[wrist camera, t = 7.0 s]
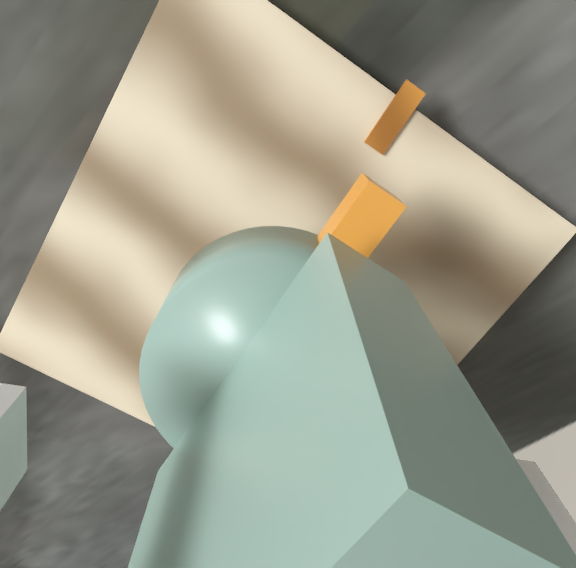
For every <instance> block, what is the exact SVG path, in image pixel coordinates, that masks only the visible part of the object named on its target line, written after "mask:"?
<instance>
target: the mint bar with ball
mask: <svg viewBox="0 0 576 568" xmlns="http://www.w3.org/2000/svg"><path fill="white" fill-rule="evenodd" d="M406 207H407V206H406V205H405V204H404V203H403V202H402V201H401V200H400V199H399V198H398V197H397V196H395V195H394V194H392V193H391V192H389V191H388V190H387V189H385V188H384V187H382V186H381V185H379V184H378V183H376V182H375V181H373V180H372V179H371V178H369V177H368V176H366V175H365V174H363V173H361V175H360V176H359V178H358V179H357V180H356V182H355V183H354V185H353V186H352V188H351V189H350V190H349V192H348V193H347V195H346V196H345V198H344V199H343V200H342V202H341V203H340V205H339V206H338V207H337V209H336V210H335V212H334V213H333V215H332V216H331V217H330V219H329V220H328V222H327V223H326V225H325V226H324V227H323V229H322V230H321V232H320V233H319V234H318V235H316V234H314V233H311V232H309V231H305V230H301V229H297V228H292V227H283V226H260V227H253V228H247V229H243V230H239V231H236V232H233V233H230V234H228V235H225V236H223V237H221V238H219V239H217V240H215V241H213V242H212V243H210V244H208V245H207V246H205V247H204V248H203V249H202V250H200V251H199V252H198V253H197V254H195V255H194V256H193V257H192V258H191V259H190V261H189V262H188V263H187V264H186V265H185V266H184V268H183V269H182V270H181V272H180V273H179V275H178V276H177V278H176V280H175V282H174V284H173V286H172V288H171V289H170V291H169V293H168V295H167V297H166V299H165V301H164V303H163V305H162V307H161V309H160V310H159V312H158V314H157V316H156V318H155V320H154V322H153V324H152V326H151V328H150V330H149V332H148V334H147V336H146V339H145V342H144V345H143V348H142V352H141V358H140V364H139V381H140V388H141V394H142V397H143V401H144V404H145V407H146V410H147V412H148V414H149V416H150V418H151V420H152V422H153V423H154V425H155V426H156V428H157V429H158V431H159V432H160V434H161V435H162V436H163V437H164V438H165V440H166V441H167V442H168V443H169V444H170V445H171V446H172V447H173V448H174V449H173V451H172V452H171V454H170V455H169V456H168V458H167V459H166V461H165V462H164V463H163V465H162V466H161V468H160V469H159V471H158V473H157V476H156V479H155V482H154V486H153V489H152V492H151V495H150V499H149V502H148V505H147V508H146V511H145V515H144V518H143V521H142V524H141V527H140V531H139V534H138V537H137V540H136V543H135V547H134V550H133V553H132V556H131V559H130V563H129V566H128V568H576V555H575V553H574V551H573V550H572V548H571V547H570V545H569V543H568V542H567V540H566V539H565V537H564V535H563V534H562V532H561V531H560V529H559V527H558V526H557V524H556V523H555V521H554V519H553V518H552V516H551V515H550V513H549V511H548V510H547V508H546V507H545V505H544V503H543V502H542V500H541V499H540V497H539V495H538V494H537V492H536V491H535V489H534V487H533V486H532V484H531V483H530V481H529V479H528V478H527V476H526V475H525V473H524V471H523V470H522V468H521V467H520V465H519V463H518V462H517V460H516V459H515V457H514V455H513V454H512V452H511V451H510V449H509V447H508V446H507V444H506V443H505V441H504V439H503V438H502V436H501V435H500V433H499V431H498V430H497V428H496V427H495V425H494V423H493V422H492V420H491V419H490V417H489V415H488V414H487V412H486V411H485V409H484V407H483V406H482V404H481V403H480V401H479V399H478V398H477V396H476V395H475V393H474V391H473V390H472V388H471V387H470V385H469V383H468V382H467V380H466V379H465V377H464V375H463V374H462V372H461V370H460V369H459V367H458V366H457V364H456V362H455V361H454V359H453V358H452V356H451V354H450V353H449V351H448V350H447V348H446V346H445V345H444V343H443V342H442V340H441V338H440V337H439V335H438V334H437V332H436V330H435V329H434V327H433V326H432V324H431V322H430V321H429V319H428V318H427V316H426V314H425V313H424V311H423V310H422V308H421V306H420V305H419V303H418V302H417V300H416V298H415V297H414V295H413V294H412V292H411V290H410V289H409V287H408V286H407V284H406V282H404V281H403V280H401V279H400V278H398V277H396V276H395V275H393V274H392V273H390V272H389V271H387V270H386V269H384V268H382V267H381V266H379V265H378V264H376V263H375V262H373V261H372V260H370V259H368V257H369V256H370V255H371V253H372V252H373V251H374V249H375V248H376V247H377V245H378V244H379V243H380V241H381V240H382V239H383V237H384V236H385V235H386V233H387V232H388V231H389V229H390V228H391V227H392V226H393V224H394V223H395V222H396V220H397V219H398V218H399V216H400V215H401V214H402V212H403V211H404V210H405V208H406Z"/></svg>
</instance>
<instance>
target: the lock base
mask: <svg viewBox="0 0 576 568" xmlns="http://www.w3.org/2000/svg"><path fill="white" fill-rule="evenodd" d="M424 96H425V93H424V92H423V91H421V90H420V89H419V88H417V87H416V86H415V85H413V84H412V83H411V82H409V81H408V80H405V82H404V83H403V85H402V86H401V88H400V89H399V91H398V92H397V94H396V95H395V94H394V93H393V92H391V91H390V90H389V89H387V88H386V87H385V86H383V85H382V84H380V83H379V82H378V81H376V80H375V79H374V78H372V77H371V76H370V75H368V74H367V73H366V72H364V71H363V70H361V69H360V68H359V67H357V66H356V65H355V64H353V63H352V62H351V61H349V60H348V59H346V58H345V57H344V56H342V55H341V54H340V53H338V52H337V51H336V50H334V49H333V48H332V47H330V46H329V45H327V44H326V43H325V42H323V41H322V40H321V39H319V38H318V37H317V36H315V35H314V34H312V33H311V32H310V31H308V30H307V29H306V28H304V27H303V26H302V25H300V24H299V23H298V22H296V21H295V20H293V19H292V18H291V17H289V16H288V15H287V14H285V13H284V12H283V11H281V10H280V9H278V8H277V7H276V6H274V5H273V4H272V3H270V2H269V1H268V0H159V2H158V4H157V6H156V9H155V11H154V13H153V15H152V17H151V19H150V21H149V23H148V25H147V27H146V29H145V32H144V34H143V36H142V38H141V40H140V42H139V44H138V46H137V48H136V50H135V53H134V55H133V57H132V59H131V61H130V63H129V65H128V67H127V69H126V71H125V73H124V76H123V78H122V80H121V82H120V84H119V86H118V88H117V90H116V92H115V94H114V97H113V99H112V101H111V103H110V105H109V107H108V109H107V111H106V113H105V115H104V117H103V120H102V122H101V124H100V126H99V128H98V130H97V132H96V134H95V136H94V138H93V140H92V143H91V145H90V147H89V149H88V151H87V153H86V155H85V157H84V159H83V161H82V164H81V166H80V168H79V170H78V172H77V174H76V176H75V178H74V180H73V182H72V184H71V187H70V189H69V191H68V193H67V195H66V197H65V199H64V201H63V203H62V205H61V208H60V210H59V212H58V214H57V216H56V218H55V220H54V222H53V224H52V226H51V228H50V231H49V233H48V235H47V237H46V239H45V241H44V243H43V245H42V247H41V249H40V251H39V254H38V256H37V258H36V260H35V262H34V264H33V266H32V268H31V270H30V272H29V275H28V277H27V279H26V281H25V283H24V285H23V287H22V289H21V291H20V293H19V295H18V298H17V300H16V302H15V304H14V306H13V308H12V310H11V312H10V314H9V316H8V319H7V321H6V323H5V325H4V327H3V329H2V331H1V333H0V353H3V354H5V355H7V356H9V357H11V358H13V359H15V360H17V361H19V362H21V363H23V364H25V365H28V366H30V367H32V368H34V369H36V370H38V371H40V372H42V373H44V374H46V375H48V376H51V377H53V378H55V379H57V380H59V381H61V382H63V383H65V384H67V385H69V386H71V387H74V388H76V389H78V390H80V391H82V392H84V393H86V394H88V395H90V396H92V397H94V398H96V399H99V400H101V401H103V402H105V403H107V404H109V405H111V406H113V407H115V408H117V409H119V410H122V411H124V412H126V413H128V414H130V415H132V416H134V417H136V418H138V419H140V420H142V421H144V422H147V423H149V424H151V425H153V426H155V425H154V423H153V422H152V420H151V418H150V416H149V414H148V412H147V410H146V407H145V404H144V401H143V397H142V394H141V388H140V381H139V364H140V358H141V352H142V348H143V345H144V342H145V339H146V336H147V334H148V332H149V330H150V328H151V326H152V324H153V322H154V320H155V318H156V316H157V314H158V312H159V310H160V309H161V307H162V305H163V303H164V301H165V299H166V297H167V295H168V293H169V291H170V289H171V288H172V286H173V284H174V282H175V280H176V278H177V276H178V275H179V273H180V272H181V270H182V269H183V268H184V266H185V265H186V264H187V263H188V262H189V261H190V259H191V258H192V257H193V256H194V255H195V254H197V253H198V252H199V251H200V250H202V249H203V248H204V247H205V246H207V245H208V244H210V243H212V242H213V241H215V240H217V239H219V238H221V237H223V236H225V235H228V234H230V233H233V232H236V231H239V230H243V229H247V228H253V227H260V226H283V227H292V228H297V229H301V230H305V231H309V232H311V233H314V234H316V235H318V234H319V233H320V232H321V230H322V229H323V227H324V226H325V225H326V223H327V222H328V220H329V219H330V217H331V216H332V215H333V213H334V212H335V210H336V209H337V207H338V206H339V205H340V203H341V202H342V200H343V199H344V198H345V196H346V195H347V193H348V192H349V190H350V189H351V188H352V186H353V185H354V183H355V182H356V180H357V179H358V178H359V176H360V175H361V173H363V174H365V175H366V176H368V177H369V178H371V179H372V180H373V181H375V182H376V183H378V184H379V185H381V186H382V187H384V188H385V189H387V190H388V191H389V192H391V193H392V194H394V195H395V196H397V197H398V198H399V199H400V200H401V201H402V202H403V203H404V204H405V205H406V206H407V207H406V208H405V210H404V211H403V212H402V214H401V215H400V216H399V218H398V219H397V220H396V222H395V223H394V224H393V226H392V227H391V228H390V229H389V231H388V232H387V233H386V235H385V236H384V237H383V239H382V240H381V241H380V243H379V244H378V245H377V247H376V248H375V249H374V251H373V252H372V253H371V255H370V256H369V257H368V259H370V260H372V261H373V262H375V263H376V264H378V265H379V266H381V267H382V268H384V269H386V270H387V271H389V272H390V273H392V274H393V275H395V276H396V277H398V278H400V279H401V280H403V281H404V282H406V284H407V286H408V287H409V289H410V290H411V292H412V294H413V295H414V297H415V298H416V300H417V302H418V303H419V305H420V306H421V308H422V310H423V311H424V313H425V314H426V316H427V318H428V319H429V321H430V322H431V324H432V326H433V327H434V329H435V330H436V332H437V334H438V335H439V337H440V338H441V340H442V342H443V343H444V345H445V346H446V348H447V350H448V351H449V353H450V354H451V356H452V358H453V359H454V361H455V362H456V364H457V365H458V364H459V362H460V361H461V360H462V359H463V358H464V357H465V356H466V355H467V354H468V352H469V351H470V350H471V349H472V348H473V347H474V346H475V345H476V344H477V342H478V341H479V340H480V339H481V338H482V337H483V336H484V335H485V334H486V332H487V331H488V330H489V329H490V328H491V327H492V326H493V325H494V324H495V322H496V321H497V320H498V319H499V318H500V317H501V316H502V315H503V314H504V312H505V311H506V310H507V309H508V308H509V307H510V306H511V305H512V303H513V302H514V301H515V300H516V299H517V298H518V297H519V296H520V295H521V293H522V292H523V291H524V290H525V289H526V288H527V287H528V286H529V285H530V283H531V282H532V281H533V280H534V279H535V278H536V277H537V276H538V275H539V273H540V272H541V271H542V270H543V269H544V268H545V267H546V266H547V265H548V263H549V262H550V261H551V260H552V259H553V258H554V257H555V256H556V254H557V253H558V252H559V251H560V250H561V249H562V248H563V247H564V246H565V244H566V243H567V242H568V241H569V240H570V239H571V238H572V237H573V236H574V234H575V233H576V227H575V226H574V225H572V224H571V223H569V222H568V221H567V220H565V219H564V218H563V217H561V216H560V215H559V214H557V213H556V212H555V211H553V210H552V209H550V208H549V207H548V206H546V205H545V204H544V203H542V202H541V201H540V200H538V199H537V198H535V197H534V196H533V195H531V194H530V193H529V192H527V191H526V190H525V189H523V188H522V187H521V186H519V185H518V184H516V183H515V182H514V181H512V180H511V179H510V178H508V177H507V176H506V175H504V174H503V173H501V172H500V171H499V170H497V169H496V168H495V167H493V166H492V165H491V164H489V163H488V162H487V161H485V160H484V159H482V158H481V157H480V156H478V155H477V154H476V153H474V152H473V151H472V150H470V149H469V148H467V147H466V146H465V145H463V144H462V143H461V142H459V141H458V140H457V139H455V138H454V137H453V136H451V135H450V134H448V133H447V132H446V131H444V130H443V129H442V128H440V127H439V126H438V125H436V124H435V123H434V122H432V121H431V120H429V119H428V118H427V117H425V116H424V115H423V114H421V113H420V112H419V111H417V110H416V109H415V108H416V107H417V106H418V104H419V103H420V101H421V100H422V98H423V97H424ZM155 427H156V426H155Z"/></svg>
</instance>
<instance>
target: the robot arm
mask: <svg viewBox="0 0 576 568" xmlns="http://www.w3.org/2000/svg"><path fill="white" fill-rule="evenodd" d="M516 460H517V459H516ZM517 462H518V463H519V465H520V467H521V468H522V470H523V471H524V473H525V475H526V476H527V478H528V479H529V481H530V483H531V484H532V486H533V487H534V489H535V491H536V492H537V494H538V495H539V497H540V499H541V500H542V502H543V503H544V505H545V507H546V508H547V510H548V511H549V513H550V515H551V516H552V518H553V519H554V521H555V523H556V524H557V526H558V527H559V529H560V531H561V532H562V534H563V535H564V537H565V539H566V540H567V542H568V543H569V545H570V547H571V548H572V550H573V551H574V553H575V555H576V523H575V521H574V520H573V519H572V517H571V516H570V514H569V512H568V511H567V509H566V508H565V507H564V505H563V504H562V502H561V501H560V499H559V497H558V496H557V494H556V493H555V492H554V490H553V489H552V487H551V486H550V484H549V483H548V481H547V480H546V478H545V477H544V475H543V474H542V472H541V471H540V469H539V468H538V466H537V465H536V463H535V462H531V461H523V460H517ZM26 470H27V409H26V387H23V386H16V385H10V384H3V383H0V510H1V509H2V507H3V506H4V504H5V503H6V501H7V500H8V498H9V497H10V495H11V494H12V492H13V490H14V489H15V487H16V486H17V484H18V483H19V481H20V480H21V478H22V477H23V475H24V474H25V472H26Z"/></svg>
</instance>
